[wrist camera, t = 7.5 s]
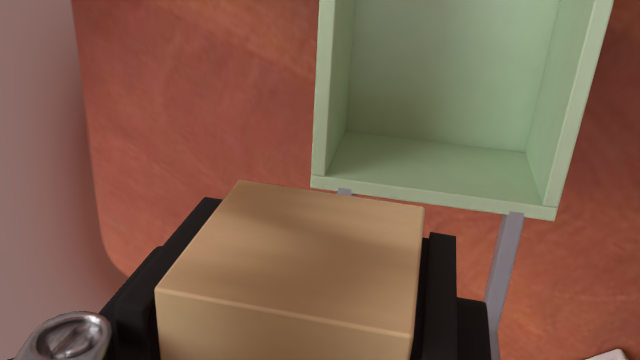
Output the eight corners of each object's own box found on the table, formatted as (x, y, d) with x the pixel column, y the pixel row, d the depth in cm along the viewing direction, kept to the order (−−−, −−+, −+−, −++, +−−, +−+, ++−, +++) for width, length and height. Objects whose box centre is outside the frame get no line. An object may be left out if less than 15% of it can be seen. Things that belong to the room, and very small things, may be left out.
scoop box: (504, 278, 25) (530, 444, 17) (327, 251, 26) (277, 394, 19) (596, -108, 18) (707, -120, 11) (353, -120, 20) (291, -139, 12)
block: (239, 322, 14) (168, 463, 10) (238, 178, 12) (152, 288, 9) (401, 353, 13) (383, 514, 10) (425, 205, 12) (414, 336, 8)
